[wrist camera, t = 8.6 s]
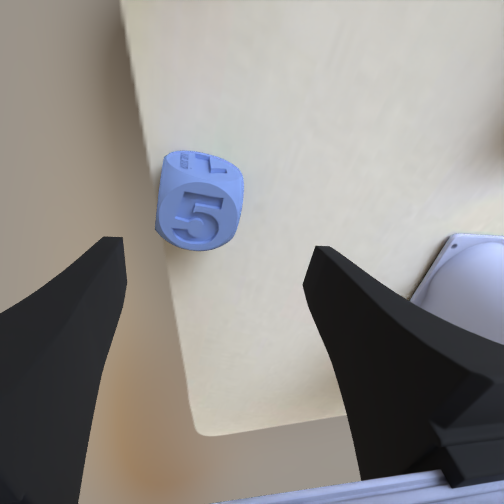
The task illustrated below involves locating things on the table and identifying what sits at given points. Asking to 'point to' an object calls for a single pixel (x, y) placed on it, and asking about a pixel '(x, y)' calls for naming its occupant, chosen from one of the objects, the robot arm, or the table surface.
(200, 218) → the decorative dice
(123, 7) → the table surface
